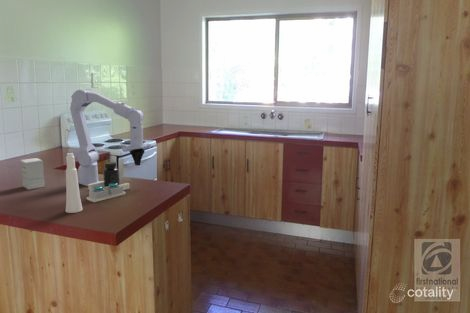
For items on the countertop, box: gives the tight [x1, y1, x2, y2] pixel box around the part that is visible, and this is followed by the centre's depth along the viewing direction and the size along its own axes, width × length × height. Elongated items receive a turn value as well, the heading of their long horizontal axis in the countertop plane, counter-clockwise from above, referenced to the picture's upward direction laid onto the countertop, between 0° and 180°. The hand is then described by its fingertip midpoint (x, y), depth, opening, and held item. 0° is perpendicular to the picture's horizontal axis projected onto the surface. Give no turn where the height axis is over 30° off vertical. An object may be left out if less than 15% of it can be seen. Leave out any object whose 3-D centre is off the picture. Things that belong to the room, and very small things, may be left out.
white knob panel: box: [86, 180, 130, 203], centre depth 165 cm, size 18×21×4 cm
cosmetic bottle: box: [65, 152, 84, 214], centre depth 140 cm, size 6×6×22 cm
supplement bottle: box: [102, 161, 121, 188], centre depth 170 cm, size 7×7×12 cm
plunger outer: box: [94, 186, 104, 192], centre depth 156 cm, size 4×4×4 cm
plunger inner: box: [109, 183, 118, 189], centre depth 161 cm, size 4×4×4 cm
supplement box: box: [20, 157, 46, 191], centre depth 171 cm, size 7×7×13 cm
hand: (137, 165), depth 175 cm, fingers closed
